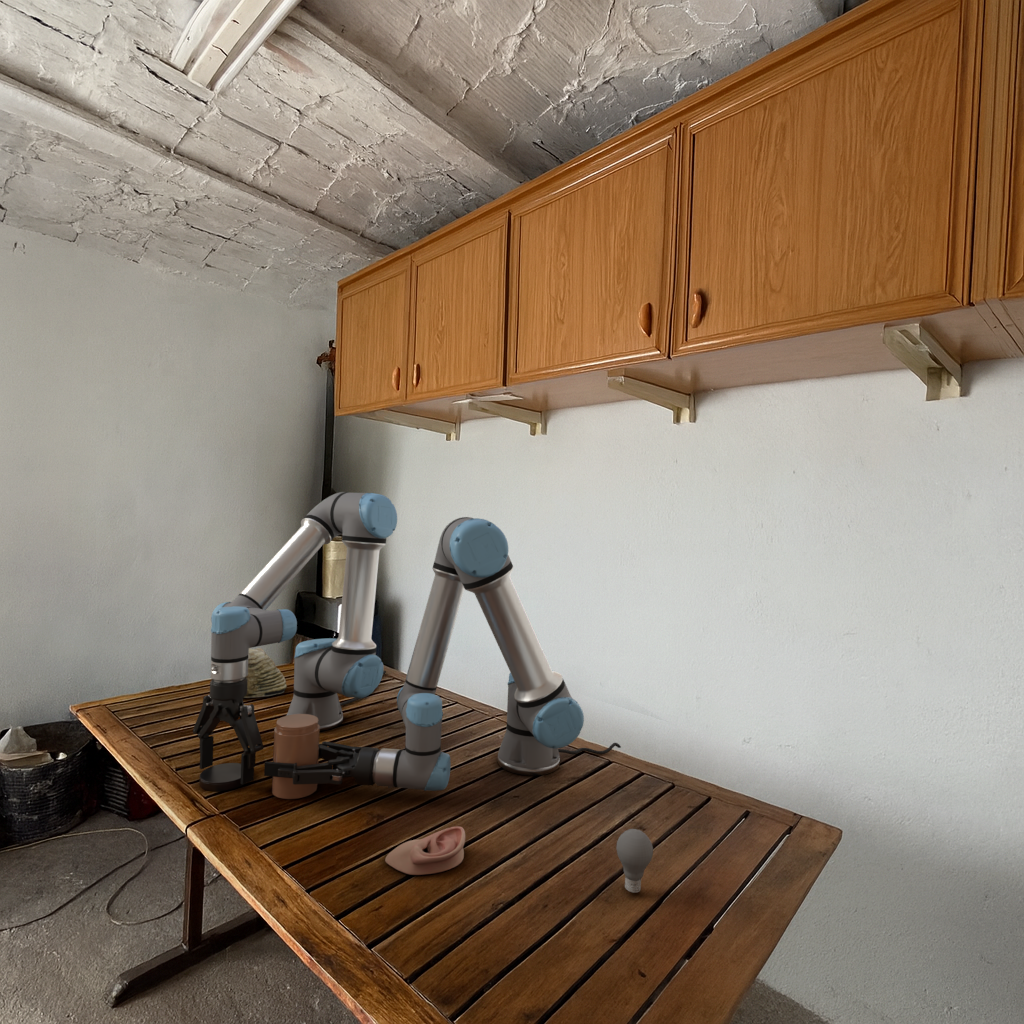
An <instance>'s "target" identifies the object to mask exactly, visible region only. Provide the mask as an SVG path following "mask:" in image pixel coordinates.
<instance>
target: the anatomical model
mask: <svg viewBox="0 0 1024 1024" xmlns="http://www.w3.org/2000/svg"><path fill="white" fill-rule="evenodd" d="M465 844H466V831H465V829H464V828H463V826H451V827H447V828H444V829H442V830H439V831H436V832H433V833H432V834H430V835H428V836H425V837H423V838H420V839H413V840H412V839H410V840H408V841H405V842H403V843H401V844H399V845H397V847H395V848H394V849H392V850H391V851H390V852H389V853H388V854H387V855H386V856H385V859H384V861H385V863H386V864H387V865H389V866H390V867H391V868H393V869H395V870H397V871H399V872H401V873H403V874H406V875H411V876H421V875H422V876H423V875H431V874H438V873H442V872H445V871H448V870H451V869H453V868H456V867H457V866H459V865H460V864H461V863H462V862H463V860H464V857H465V851H464V846H465Z"/></svg>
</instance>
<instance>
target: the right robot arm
mask: <svg viewBox="0 0 1024 1024" xmlns="http://www.w3.org/2000/svg"><path fill="white" fill-rule="evenodd" d="M432 571H433V573H434V578H433V580H432V583H431V588H430V591H429V595H428V597H427V598H428V599H427V602H426V605H425V609H424V613H423V616H422V619H421V623H420V626H419V630H418V634H417V638H416V641H415V644H414V647H413V651H412V655H411V659H410V661H409V665H408V670H407V673H406V676H405V681H404V683H403V686H402V687H401V688H400V689H399V691H398V693H397V695H396V704H397V710H398V712H399V713H400V716H401V718H402V721H403V724H404V726H405V746H404V749H399V748H387V747H385V748H384V747H382V748H381V749H379V748H378V747H370V746H369V747H367V746H364V747H362V746H351V745H347V744H341V743H336V742H331V741H322V742H321V743H319V760H320V759H321V760H324V761H326V762H322V763H321V762H319V763H318V764H312V765H304V766H297V763H294V764H291V763H279V762H273V761H265V762H264V768H263V769H264V770H263V776H264V777H284V778H293V784H295V785H296V784H318V785H323V784H324V785H326V784H327V785H328V784H332V785H342V784H343V779H344V778H345V779H346V778H354V780H355V783H356V784H357V785H359V786H369V787H372V786H374V785H376V786H377V787H384V788H385V787H386V788H387V789H392V788H395V789H396V788H397V789H409V790H419V791H424V792H428V791H430V792H431V791H432V792H436V791H444V790H445V789H446V788H447V787H448V785H449V781H450V776H451V768H452V767H451V766H452V765H451V764H452V762H451V760H452V759H451V755H450V754H449V753H447V752H443V751H442V748H441V747H442V745H441V744H442V729H443V727H442V726H443V725H442V724H443V716H444V711H443V700H442V698H441V697H440V696H439V695H436V692H437V689H438V684H439V681H440V678H441V674H442V670H443V668H444V667H443V666H444V663H445V659H446V656H447V652H448V648H449V646H450V642H451V639H452V635H453V632H454V627H455V624H456V621H457V618H458V613H459V610H460V607H461V603H462V600H463V596H464V592H465V591H466V592H470V593H472V594H474V596H475V598H476V600H477V602H478V604H479V607H480V609H481V612H482V614H483V615H484V617H485V620H486V623H487V624H488V626H489V629H490V631H491V634H492V635H493V637H494V640H495V642H496V644H497V646H498V648H499V651H500V653H501V655H502V657H503V659H504V662H505V663H506V666H507V668H508V670H509V674H508V681H507V707H506V727H505V729H506V730H505V733H504V736H503V738H502V740H501V743H500V746H499V749H498V751H497V764H498V766H499V767H500V768H502V769H503V770H505V771H507V772H510V773H512V774H517V775H520V776H543V775H547V774H548V775H549V774H551V773H553V772H555V771H557V770H558V769H559V767H560V765H561V763H560V761H561V756H560V754H561V753H563V754H568V755H578V754H580V753H581V752H587V753H591V754H595V755H605V754H608V753H609V752H611V751H612V750H613V749H614V747H616V748H618V749H621V748H622V746H621V744H619V743H618V742H613V743H612V744H610V745H609V747H607V748H606V749H604V750H596V749H592V748H590V747H580V748H578V749H576V750H569V749H564V748H565V747H567V746H569V745H571V744H572V743H574V741H576V739H577V738H578V737H579V735H580V734H581V732H582V729H583V728H584V722H585V716H584V712H583V709H582V707H581V705H580V704H579V702H578V700H575V699H574V698H573V697H572V695H571V693H570V691H569V689H568V686H567V684H566V682H565V680H564V677H563V676H562V674H561V673H560V672H558V671H555V670H553V669H552V666H551V665H550V663H549V660H548V658H547V655H546V654H545V652H544V649H543V647H542V644H541V643H540V640H539V638H538V636H537V634H536V631H535V629H534V627H533V624H532V622H531V620H530V618H529V615H528V613H527V612H526V611H527V610H526V608H525V606H524V605H523V602H522V600H521V597H520V596H519V593H518V591H517V589H516V587H515V584H514V582H513V580H512V578H511V575H512V573H513V571H514V565H513V562H512V560H511V558H510V555H509V542H508V540H507V538H506V535H505V533H504V532H503V531H502V530H501V528H499V527H498V526H497V525H496V524H495V523H493V522H491V521H489V520H488V519H484V518H474V517H471V516H470V517H469V516H462V517H458V518H455V519H453V520H452V521H450V522H449V523H447V525H445V527H444V528H443V530H442V532H441V535H440V537H439V540H438V544H437V549H436V553H435V557H434V561H433V564H432Z"/></svg>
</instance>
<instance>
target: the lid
mask: <svg viewBox="0 0 1024 1024" xmlns="http://www.w3.org/2000/svg"><path fill="white" fill-rule="evenodd" d="M244 785H245V784H243V785H242V784H241V762H240V763H238V762H227V763H226V762H225V763H219V764H215V765H211V766H209V767H206V768H204V769H203V770H202V771H201V772H200V774H199V787H200V789H202V790H204V791H209V792H225V791H230V790H231V791H232V790H234V789H238V788H240V787H242V786H244Z"/></svg>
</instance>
